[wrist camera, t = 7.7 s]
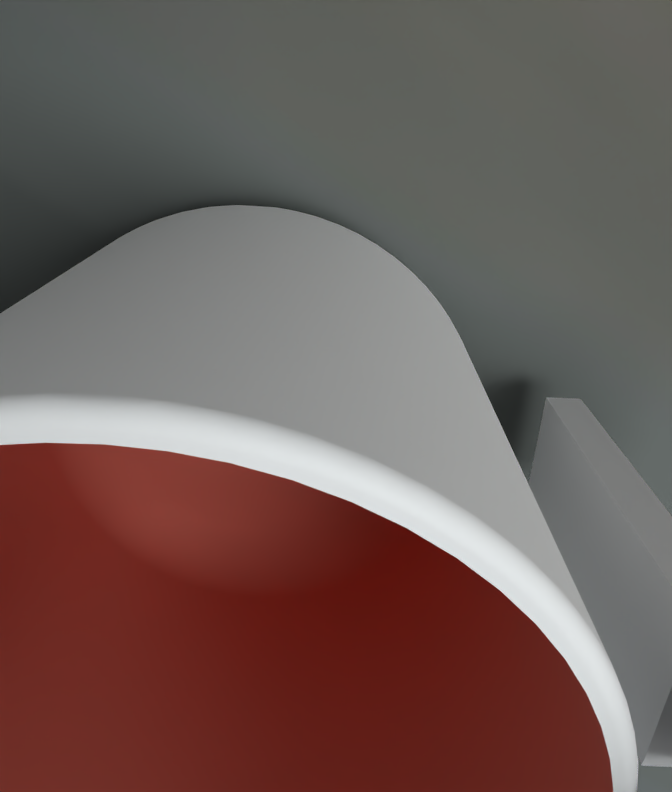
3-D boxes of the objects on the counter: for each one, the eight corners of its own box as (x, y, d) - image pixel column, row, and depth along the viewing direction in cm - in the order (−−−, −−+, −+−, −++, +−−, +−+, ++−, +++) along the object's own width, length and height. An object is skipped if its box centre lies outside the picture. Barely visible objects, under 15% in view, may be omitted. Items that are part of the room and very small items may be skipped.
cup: (97, 567, 18) (-159, 1055, 9) (11, 198, 13) (-665, 411, 4) (454, 565, 18) (568, 1064, 9) (483, 190, 13) (775, 397, 4)
